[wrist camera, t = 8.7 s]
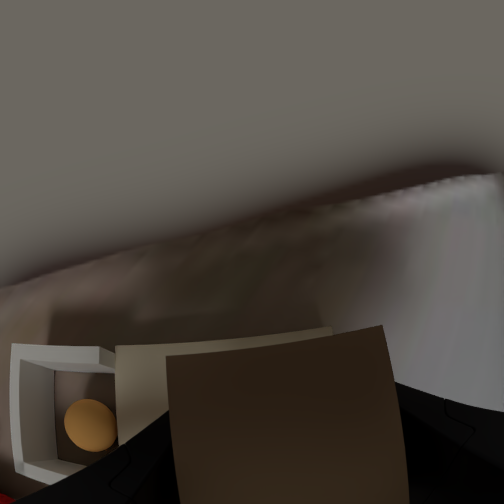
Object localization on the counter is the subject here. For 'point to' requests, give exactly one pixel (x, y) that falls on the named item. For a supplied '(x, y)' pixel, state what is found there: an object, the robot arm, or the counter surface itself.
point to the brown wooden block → (289, 423)
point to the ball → (91, 425)
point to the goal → (45, 404)
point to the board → (155, 380)
